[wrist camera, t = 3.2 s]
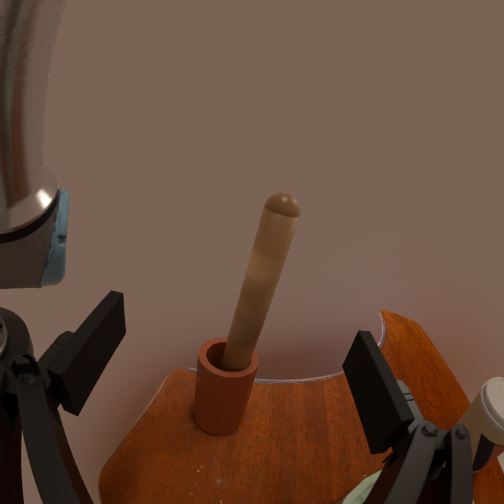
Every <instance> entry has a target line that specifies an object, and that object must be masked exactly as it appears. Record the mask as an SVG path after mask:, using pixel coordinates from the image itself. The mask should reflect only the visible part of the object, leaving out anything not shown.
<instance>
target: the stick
mask: <svg viewBox="0 0 504 504" xmlns="http://www.w3.org/2000/svg"><path fill="white" fill-rule="evenodd" d="M299 216H300V206H299V203H298V202H297V200H296V199H295V198H294V197H293V196H291V195H290V194H287V193H276V194H274V195H272V196H271V197H270V198H268V200H267V201H266V203H265V205H264V209H263V212H262V216H261V220H260V223H259V227H258V231H257V234H256V238H255V241H254V245H253V249H252V252H251V256H250V259H249V263H248V267H247V270H246V274H245V278H244V282H243V285H242V289H241V293H240V296H239V299H238V303H237V307H236V310H235V314H234V318H233V321H232V325H231V329H230V332H229V336H228V339H227V343H226V347H225V350H224V354H223V357H222V361H221V365H220V368H219V369H220V370H223V371H226V372H237V371H241V370H243V369H246V368H247V367H248V365H249V362H250V360H251V357H252V354H253V351H254V349H255V346H256V343H257V340H258V338H259V335H260V332H261V329H262V327H263V324H264V321H265V318H266V315H267V312H268V309H269V307H270V304H271V301H272V298H273V295H274V292H275V289H276V286H277V283H278V281H279V278H280V274H281V272H282V268H283V266H284V262H285V260H286V256H287V253H288V250H289V247H290V244H291V241H292V238H293V235H294V232H295V229H296V226H297V222H298V219H299Z"/></svg>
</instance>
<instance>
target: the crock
mask: <svg viewBox="0 0 504 504" xmlns="http://www.w3.org/2000/svg"><path fill="white" fill-rule="evenodd" d="M227 339H228V338H215V339H212V340H208V341H207V342H206V343H204V344H203V345H202V346H201V347H200V349H199V354H198V362H197V374H196V388H195V403H194V418H195V421H196V423H197V425H198V426H199V427H200V428H201V429H202V430H204V431H206V432H207V433H210V434H213V435H227V434H230V433H233V432H234V431H236V430H237V429H238V428H239V427H240V425H241V422H242V420H243V417H244V414H245V410H246V407H247V403H248V400H249V396H250V393H251V389H252V386H253V382H254V379H255V375H256V371H257V368H258V355H257V354H256V352H255V351H253V354H252V357H251V360H250V362H249V365H248V367H247V368H246V369H243V370H241V371H237V372H226V371H223V370H220V369H219V368H220V365H221V361H222V357H223V354H224V350H225V347H226V343H227Z"/></svg>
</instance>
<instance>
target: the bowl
mask: <svg viewBox="0 0 504 504" xmlns="http://www.w3.org/2000/svg"><path fill="white" fill-rule="evenodd" d="M381 471H382V470H380V471H379V472H377V473H375V474H373V475H371V476H369V477H367V478H365V479H364V480H363V481H361V482H360V483H359V484H358V485H357V486H355V487H354V488H353V489H351V490H350V491H349V492H348V493H346V494H345V495H344V496H342V497H341V498H340V499H338V500H337V501H336V502H335V503H334V504H363V502H364V501H365V499H366V498H367V496H368V494H369V493H370V491H371V489H372V487H373V486H374V484H375V482H376V480H377V479H378V477H379V475H380V473H381ZM473 504H474V501H473Z"/></svg>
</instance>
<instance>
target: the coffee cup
mask: <svg viewBox="0 0 504 504" xmlns="http://www.w3.org/2000/svg"><path fill="white" fill-rule="evenodd" d="M456 424H461V425H464V426H465V427H466V428H467V429H468V431H469V433H470V439H471V450H472V465H473V475H474V474H476V473H477V472H479V471H480V470H481V469H483V468H484V467H485V466H486V465H488V464H489V463H490V462H492V461H493V460H494V459H495V458H497V457H498V456H499V455H500V454H501V453H502V452H504V378H502V377H495V378H492V379H490V380H489V381H487V382H486V383H485V384H484V385H483V386H482V387H481V389H480V392H479V393H478V395H477V396H476V398H475V399H474V401H473V402H472V403H471V405H470V406H469V408H468V409H467V410H466V412H465V413H464V414H463V416H462V417H461V418H460V420H459V421H458V422H457V423H456ZM445 465H446V462H445Z"/></svg>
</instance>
